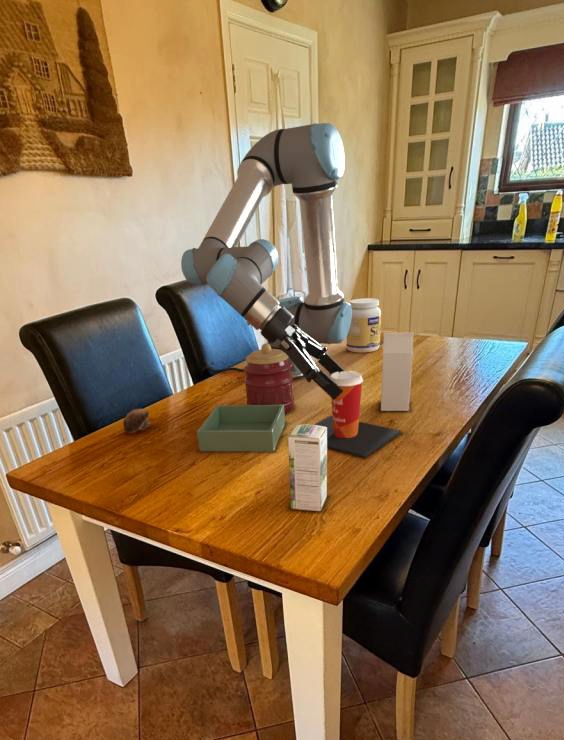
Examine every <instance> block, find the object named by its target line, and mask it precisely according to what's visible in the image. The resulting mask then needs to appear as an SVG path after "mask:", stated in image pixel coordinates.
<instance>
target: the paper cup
mask: <svg viewBox="0 0 564 740" xmlns="http://www.w3.org/2000/svg"><path fill="white" fill-rule="evenodd" d="M339 373H340V374H339ZM329 377H330V378H331V379H332V380H333V381H334V382H335V383H336V384H337V385H338V386H339V387H340V388H341V389H342V390H343V392H342V393H341V394H340V395H339V396H338V397H337V398H336V399H335V400H333V399H332V398H331V397H330V400H331V412H332V414H331V416H333V429H334V435H335V436H337V437H339V438H351V437H354V436H356V435H357V433H358V425H359V422H360V412H361V411H360V410H361V401H362V400H361V398H362V385H363V383H364V378H363V377H362V373H361V372H359V371H355V370H348V371H346V370H345V371H341V372H335V373H333V374H332V375H331V374H330V376H329Z"/></svg>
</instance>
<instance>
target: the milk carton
mask: <svg viewBox="0 0 564 740" xmlns="http://www.w3.org/2000/svg"><path fill="white" fill-rule="evenodd" d="M413 356H414V331H409V332H407V331H406V332H405V331H404V332H384V333H383V345H382V364H381V365H382V368H381V391H380V392H381V393H380V411H381V412H409V411H410V400H411V399H410V397H411V385H412V370H413V358H414V357H413Z"/></svg>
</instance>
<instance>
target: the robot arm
mask: <svg viewBox="0 0 564 740" xmlns="http://www.w3.org/2000/svg"><path fill="white" fill-rule="evenodd" d="M344 148H345V147H344V144H343V140H342V137H341V134H340V132H339V131H338V129H337V127H336V126H335V125H334V124H332V123H328V122H321V123H318V122H317V123H312V124H306V125H300V126H293V127H288V128H287V127H286V128H279V129H275V130H273V131H271V132H269V133H267V134H265V135H264V136H263V137H261V138H260V139H259V140H258V141H257V142H256V143H254V145H253V146H252V147H251V148H250V149H249V150H248V151H247V152H246V154H245V155H244V157H243V158H242V160H241V161H240V164H239V165H238V167H237V172H236V176H237V177H236V180H235V181H234V183H233V184H232V186H231V189H230V190H229V192H228V194H227V195H226V198H225V199H224V201H223V203H222V205H221V206H220V208H219V210H218V212H217V214H216V216H215V218H214V219H213V221H212V223H211V225H210V226H209V228H208V230H207V232H206V234H205V235H204V237H203V239H202V241H201V243H200V245H199V247H198V248H196V247H192V248H190V249H186V250H185V251H184V252H183V253H182V256H181V262H180V266H181V272H182V275H183V276H184V278H185V280H186V281H187V282H188V283H190V284H194V285H203V286H205V285H208V286H209V287H210V288H211V289H212V290H213V291H214V292H215V293H216V295H217V296H218V297H220V298H221V300H223V301H224V302H226V303H227V304H228V305H229V306H230V307H231V308H232V309H233V310H235V311H236V312H237V313H238V314H239V315H240V317H242V318H243V319H244V320H245V321H246V325H247V326H250V325H251V326H252V327H253V328H254V329H255V330H256V331H258V330H260V332H259V333H260V335H261V336H262V337H263V338H264V339H265V340H266V341H267V342H266V343H268V344H270V346H271V349H279V350H282V351H283V352H284V353H286V354H287V356H288V359H287V360H288V361H289V362H291V363H292V367H291V369H290V371H291V375H292V376H293V379H292V381H297V380H301V379H304V378H305V381H307V383H310V382H311V381H313V382H314V383H315V384H316V385H317V386H318V387H319V388H320V389H321V390H323V391H324V392H325V393H326V394H327V395H328V396H329V397H330V399H331V398H332V399H333V400H335V399H336V398H337V397H338V396H339V395H340V394H341V393H342V392H343V390H342V389H341V388H340V387H339V386H338V385H337V384H336V383H335V382H334V381H333V380H332V379H331V378H330V377H331V375H332V374H333V373H335V372H341V371H346V370H345V369H344V368H343V367H342V366H341V365H340V364H339V363H338V362H337V361H336V360H335V359H333V358H332V357H331V356H330V355H329V353H328V348H327V347H326V346H324V345H337V344H338V345H339V344H341V343H343V342H344V341H346V339H347V334H348V332H349V328H350V324H351V318H352V308H351V305H350V303H349V302H348V301H345V295H344V293H343V292H342V291H341V290H340V289H339V283H338V282H339V281H338V265H337V252H336V251H337V249H336V235H335V232H336V231H335V219H334V216H335V215H334V203H333V194H334V192H335V191H336V189H337V188H338V180H340V179H341V178H342V177H343V175H344V172H345V164H346V160H345V159H346V158H345V149H344ZM281 185H291V189H292V194H293V196H295V197H296V198H297V199H298V201H299V211H300V220H301V230H302V241H303V251H304V252H303V253H304V260H305V271H306V280H307V281H306V282H307V291H308V293H307V295H305V297H304V299H303V297H302V296H291V297H285V298H280V299H277V298H276V297H275V296H274V295H273V294H272V293H270V292H269V291H268V290H267V289H266V287H264V286H263V284H264V283H265V282H266V281H267V280H268V279H269V278H270V277H271V276H272V275H273V273H274V272H275V270H276V269H277V267H278V264H279V253H278V250H277V248H276V246H275V245H274V244H273V243H272V242H270V241H269V240H267V239H264V238H259V239H256V240H254V241H253V242H250V243H249V244H248V245H246V246H238V245H239V244H240V242H241V239H242V238H243V236H244V234H245V233H246V230H247V229H248V227H249V225H250V222H251V221H252V219H253V217H254V215H255V213H256V211H257V210H258V207H259V205H260V203H261V202H262V200H263V199H264V198H265V197H267V196H268V195H269V194H270V193H271V191H272V190H273V188H275V187H276V186H281ZM322 344H323V345H322ZM312 358H314V359H316V360H317V363H318V364H319V365H321V366H322V368H324V369H325V371H327V372H328V374H330V376H329V375H328V374H327V373H326V372H325V371H324V370H322V369H319V367H318V366H317V365H316V363H315V362H314V360H313V359H312ZM206 370H208V371H210V372H212V373H215V374H216V373H217V374H219V373H225V372H230V371H235V372H239V373H246V372H245V371H244V370H243V368H238V367H232V366H231V367H225V368H220V369H215V368H212V367H210V366H208V365H207V366H204V367H202V368H201V372H205V371H206ZM339 374H340V373H339Z"/></svg>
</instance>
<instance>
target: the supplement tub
mask: <svg viewBox="0 0 564 740" xmlns="http://www.w3.org/2000/svg"><path fill="white" fill-rule="evenodd" d="M348 303H350V305H351V308H352V318H351V324H350V328H349V332H348V334H347V336H346V344H345V345H346V349H347V350H348V351H349V352H352V353H356V354H357V353H358V354H359V353H360V354H361V353H362V354H363V353H365V354H366V353H372V352H376V351H377V350H378V349H379V348H380V347H381V346H380V345H381V323H382V322H381V320H382V311H381V308H380V307H379V306H380V299H378V298H373V297H372V298H370V297H364V298H356V299H355V298H354V299H351V300H349V301H348Z"/></svg>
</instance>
